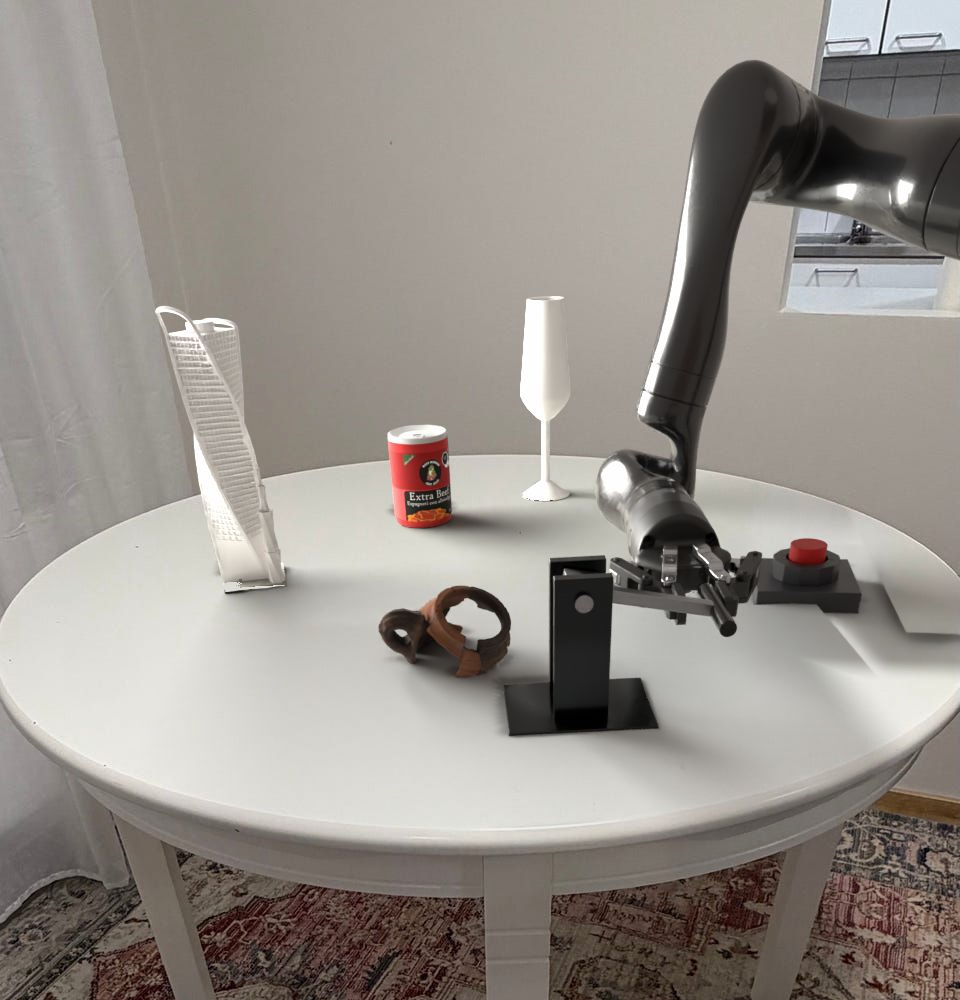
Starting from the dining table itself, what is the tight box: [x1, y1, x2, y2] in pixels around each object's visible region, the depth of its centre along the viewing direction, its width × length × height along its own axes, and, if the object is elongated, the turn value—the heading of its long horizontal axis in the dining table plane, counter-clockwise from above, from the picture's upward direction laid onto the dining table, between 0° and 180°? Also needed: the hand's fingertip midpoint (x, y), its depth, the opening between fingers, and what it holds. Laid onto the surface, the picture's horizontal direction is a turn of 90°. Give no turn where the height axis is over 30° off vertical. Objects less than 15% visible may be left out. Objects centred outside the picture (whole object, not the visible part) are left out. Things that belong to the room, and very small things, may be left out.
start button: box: [788, 537, 828, 565], centre depth 97 cm, size 4×4×2 cm
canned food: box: [387, 424, 453, 529], centre depth 124 cm, size 8×8×11 cm
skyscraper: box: [155, 305, 287, 588], centre depth 103 cm, size 8×8×28 cm
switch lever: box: [563, 568, 738, 638], centre depth 74 cm, size 13×8×2 cm, turn 91°
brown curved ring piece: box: [378, 585, 512, 678], centre depth 87 cm, size 12×10×8 cm
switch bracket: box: [503, 554, 660, 737], centre depth 76 cm, size 12×9×13 cm
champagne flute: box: [519, 295, 572, 502], centre depth 127 cm, size 7×7×24 cm
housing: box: [751, 547, 863, 614], centre depth 99 cm, size 10×10×4 cm
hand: (705, 612), depth 76 cm, fingers open, 3 cm apart
